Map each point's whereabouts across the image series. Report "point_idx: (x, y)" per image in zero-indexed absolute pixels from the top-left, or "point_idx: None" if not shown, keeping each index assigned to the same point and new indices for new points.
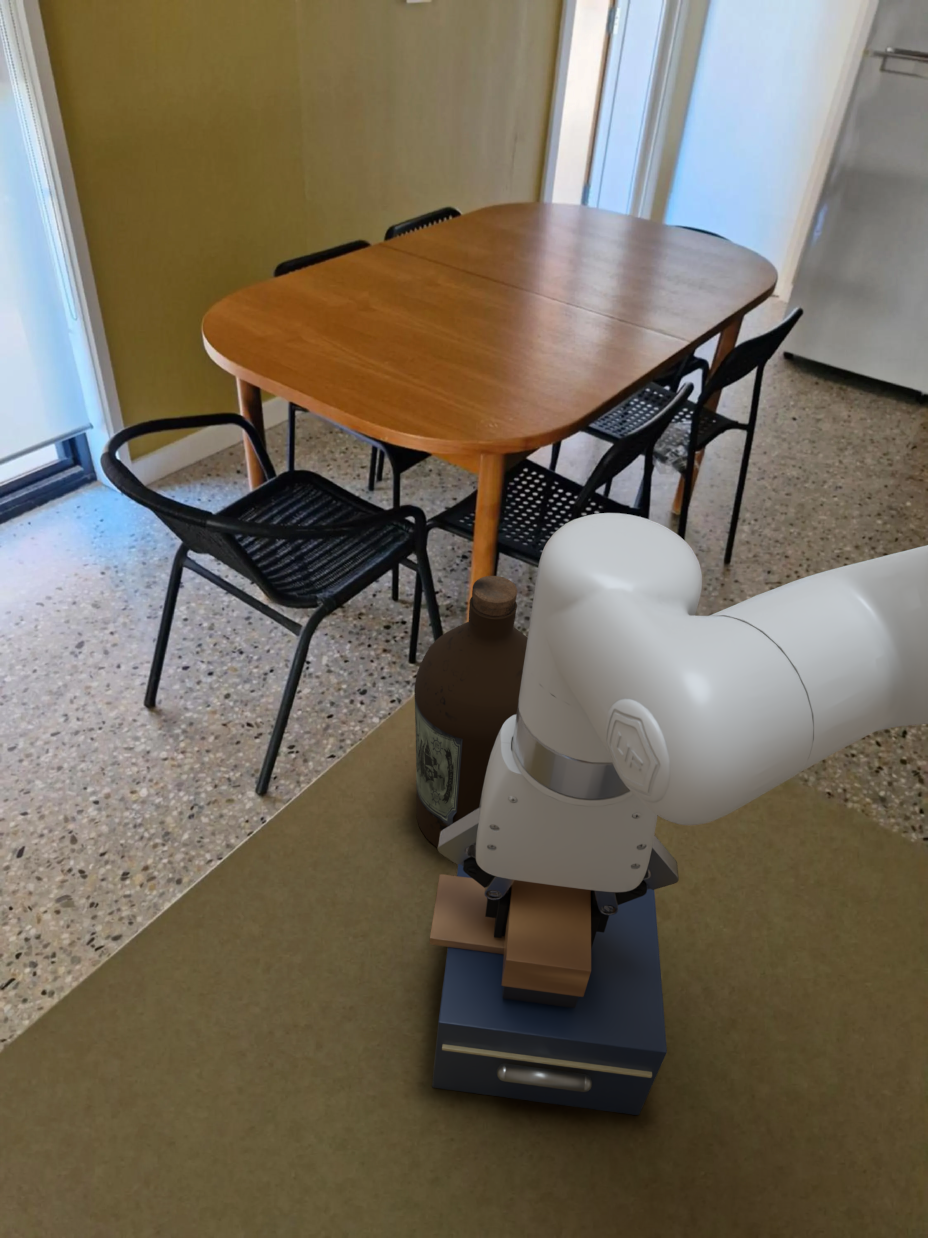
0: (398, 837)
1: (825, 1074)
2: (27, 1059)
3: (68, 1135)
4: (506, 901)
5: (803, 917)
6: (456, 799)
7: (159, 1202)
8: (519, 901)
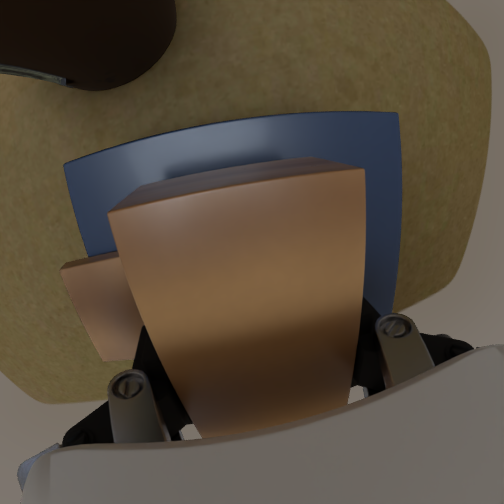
0: (47, 98)
1: (443, 216)
2: None
3: (23, 378)
4: (188, 418)
5: (446, 92)
6: (49, 75)
7: (73, 395)
8: (213, 428)
